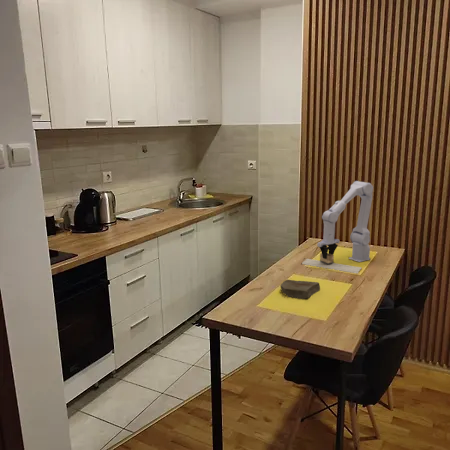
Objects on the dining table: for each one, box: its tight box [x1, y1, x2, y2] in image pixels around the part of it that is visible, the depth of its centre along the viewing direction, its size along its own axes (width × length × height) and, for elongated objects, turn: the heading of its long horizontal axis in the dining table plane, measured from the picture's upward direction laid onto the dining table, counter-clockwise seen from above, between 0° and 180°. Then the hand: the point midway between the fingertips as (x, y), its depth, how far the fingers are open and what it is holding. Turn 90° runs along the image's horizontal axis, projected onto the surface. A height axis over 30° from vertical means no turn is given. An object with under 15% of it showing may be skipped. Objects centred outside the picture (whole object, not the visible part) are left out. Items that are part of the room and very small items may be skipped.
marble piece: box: [280, 279, 321, 300], centre depth 192 cm, size 17×15×4 cm
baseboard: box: [300, 258, 362, 275], centre depth 227 cm, size 30×3×10 cm
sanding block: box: [319, 252, 335, 264], centre depth 230 cm, size 4×6×4 cm, turn 33°
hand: (327, 257), depth 229 cm, fingers closed on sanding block, 4 cm apart
